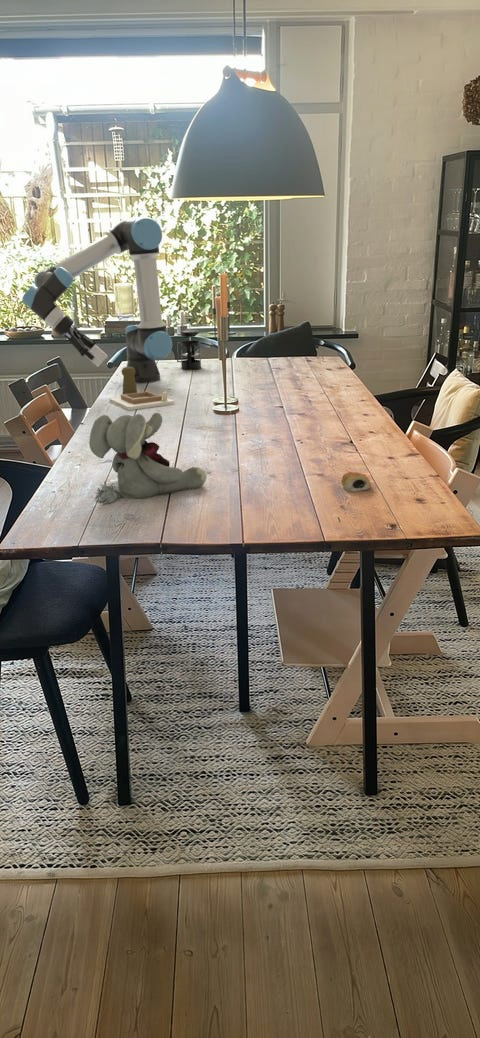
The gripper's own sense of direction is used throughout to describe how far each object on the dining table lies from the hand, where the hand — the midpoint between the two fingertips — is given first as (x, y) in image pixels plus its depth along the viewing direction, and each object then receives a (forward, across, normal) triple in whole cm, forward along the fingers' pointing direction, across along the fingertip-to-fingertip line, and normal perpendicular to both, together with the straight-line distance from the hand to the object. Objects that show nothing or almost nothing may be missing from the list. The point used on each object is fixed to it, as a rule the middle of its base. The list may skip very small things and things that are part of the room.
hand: (103, 361), depth 293 cm
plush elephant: (+28, +116, +8) cm, 119 cm away
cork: (+16, 0, -3) cm, 16 cm away
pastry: (+65, +117, +46) cm, 141 cm away
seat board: (+20, +14, +1) cm, 24 cm away
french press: (+31, -60, +12) cm, 69 cm away
